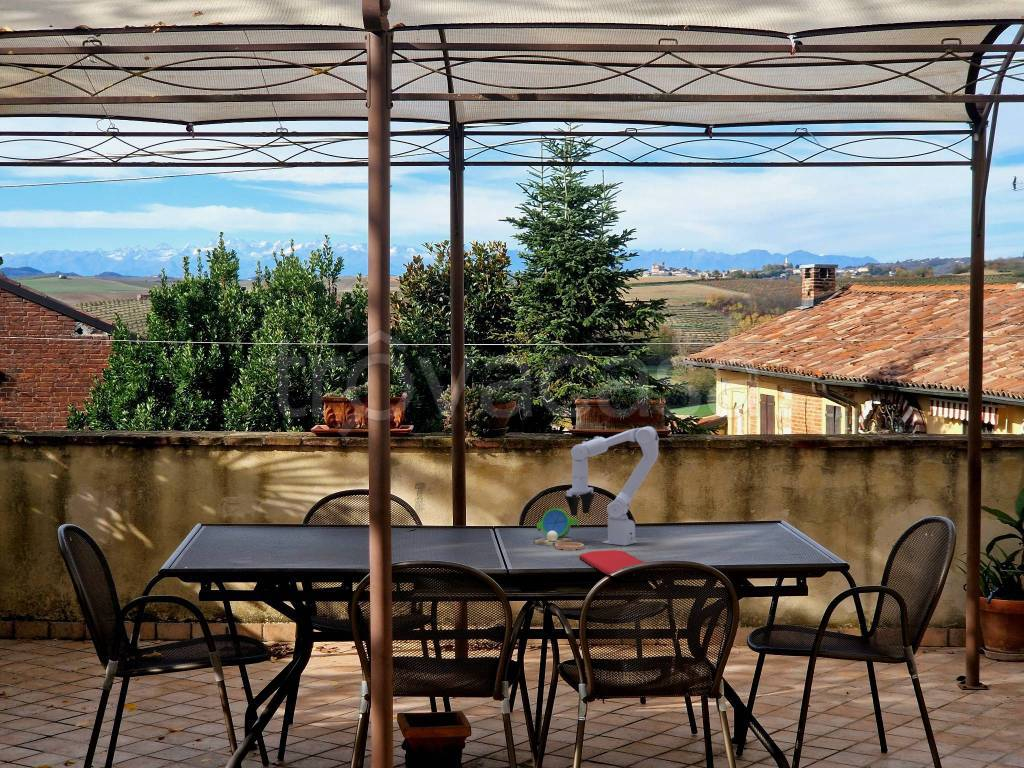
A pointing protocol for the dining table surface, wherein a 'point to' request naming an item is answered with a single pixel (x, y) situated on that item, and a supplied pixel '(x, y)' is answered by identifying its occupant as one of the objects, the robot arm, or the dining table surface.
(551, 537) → the ball
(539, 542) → the tray
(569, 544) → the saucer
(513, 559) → the dining table surface
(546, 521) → the snack cup
